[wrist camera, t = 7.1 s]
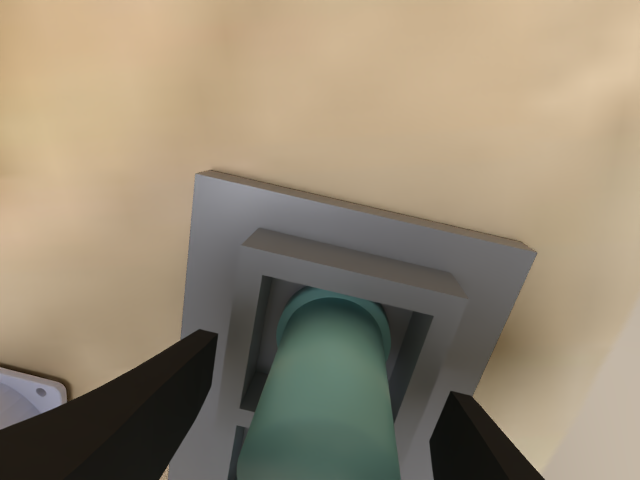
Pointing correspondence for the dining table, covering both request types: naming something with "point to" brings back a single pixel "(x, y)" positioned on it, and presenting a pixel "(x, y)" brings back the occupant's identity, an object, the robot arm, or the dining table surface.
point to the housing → (345, 278)
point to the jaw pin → (325, 395)
